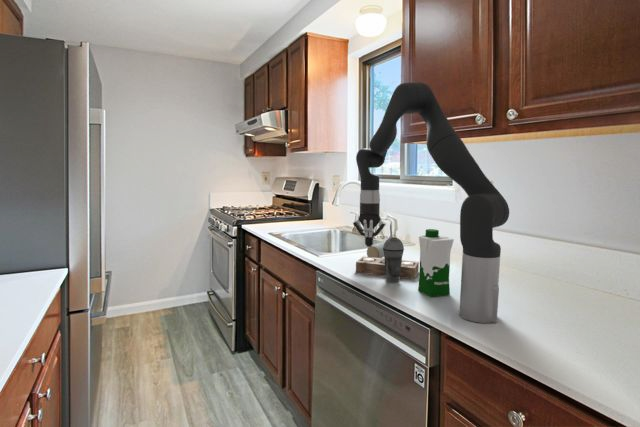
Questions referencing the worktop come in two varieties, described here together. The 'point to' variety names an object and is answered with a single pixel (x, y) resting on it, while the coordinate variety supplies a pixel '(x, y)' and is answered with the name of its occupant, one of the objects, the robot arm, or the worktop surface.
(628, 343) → the worktop surface
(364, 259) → the button
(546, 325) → the worktop surface
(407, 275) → the board
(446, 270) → the milk carton
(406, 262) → the button
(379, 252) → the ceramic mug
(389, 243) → the beverage cup
